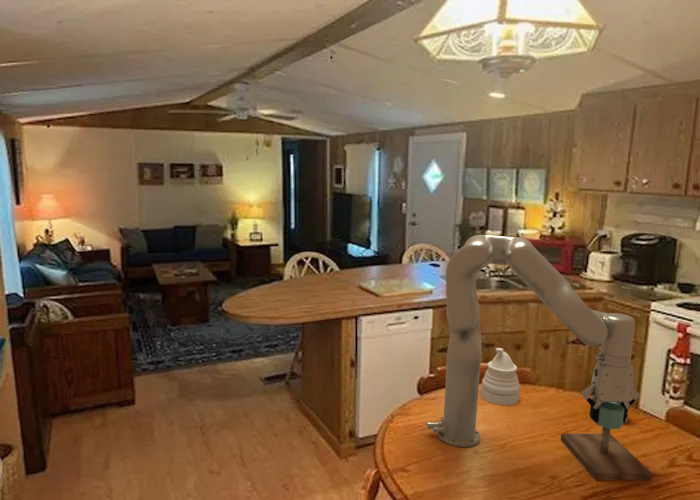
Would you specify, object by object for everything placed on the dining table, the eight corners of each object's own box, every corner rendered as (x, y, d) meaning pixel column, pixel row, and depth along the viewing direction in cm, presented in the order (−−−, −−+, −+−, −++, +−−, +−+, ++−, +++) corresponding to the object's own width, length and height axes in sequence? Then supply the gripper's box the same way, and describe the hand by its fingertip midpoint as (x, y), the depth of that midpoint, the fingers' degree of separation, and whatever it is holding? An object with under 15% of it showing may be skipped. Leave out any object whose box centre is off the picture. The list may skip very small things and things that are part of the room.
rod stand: (595, 480, 135) (599, 448, 134) (560, 439, 155) (563, 411, 154) (651, 479, 136) (655, 448, 135) (609, 439, 156) (612, 411, 154)
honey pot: (499, 408, 174) (503, 357, 171) (473, 393, 186) (476, 345, 183) (526, 400, 181) (531, 351, 178) (499, 386, 192) (503, 340, 189)
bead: (601, 428, 140) (603, 411, 139) (588, 416, 147) (590, 399, 146) (626, 428, 141) (629, 411, 140) (612, 416, 147) (614, 399, 147)
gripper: (590, 364, 137) (583, 427, 140) (654, 364, 138) (646, 427, 141) (577, 353, 144) (570, 413, 147) (637, 354, 145) (629, 413, 148)
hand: (607, 419), depth 144 cm, fingers closed on bead, 7 cm apart
